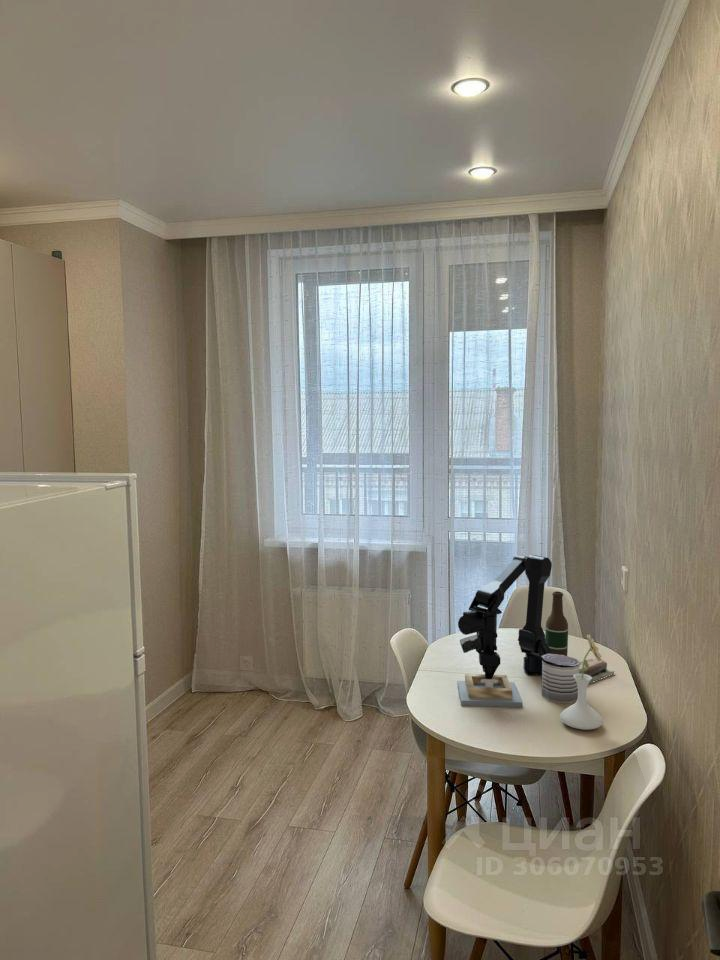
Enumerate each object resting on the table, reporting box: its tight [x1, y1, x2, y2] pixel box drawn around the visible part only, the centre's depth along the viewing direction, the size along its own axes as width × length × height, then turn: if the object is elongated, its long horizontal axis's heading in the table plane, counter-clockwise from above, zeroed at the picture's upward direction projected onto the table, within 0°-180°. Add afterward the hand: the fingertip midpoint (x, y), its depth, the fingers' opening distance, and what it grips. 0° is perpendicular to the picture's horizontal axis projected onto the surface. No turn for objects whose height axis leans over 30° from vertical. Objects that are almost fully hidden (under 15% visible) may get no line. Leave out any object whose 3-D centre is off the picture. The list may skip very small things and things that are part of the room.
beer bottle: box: [544, 590, 569, 656], centre depth 248 cm, size 8×8×24 cm
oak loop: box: [464, 673, 512, 699], centre depth 215 cm, size 13×13×2 cm
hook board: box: [456, 679, 523, 708], centre depth 214 cm, size 18×16×6 cm
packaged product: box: [579, 658, 615, 684], centre depth 232 cm, size 18×5×10 cm
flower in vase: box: [559, 634, 604, 731], centre depth 194 cm, size 13×11×25 cm
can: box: [541, 654, 581, 704], centre depth 214 cm, size 11×11×12 cm
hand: (486, 677), depth 221 cm, fingers open, 9 cm apart
